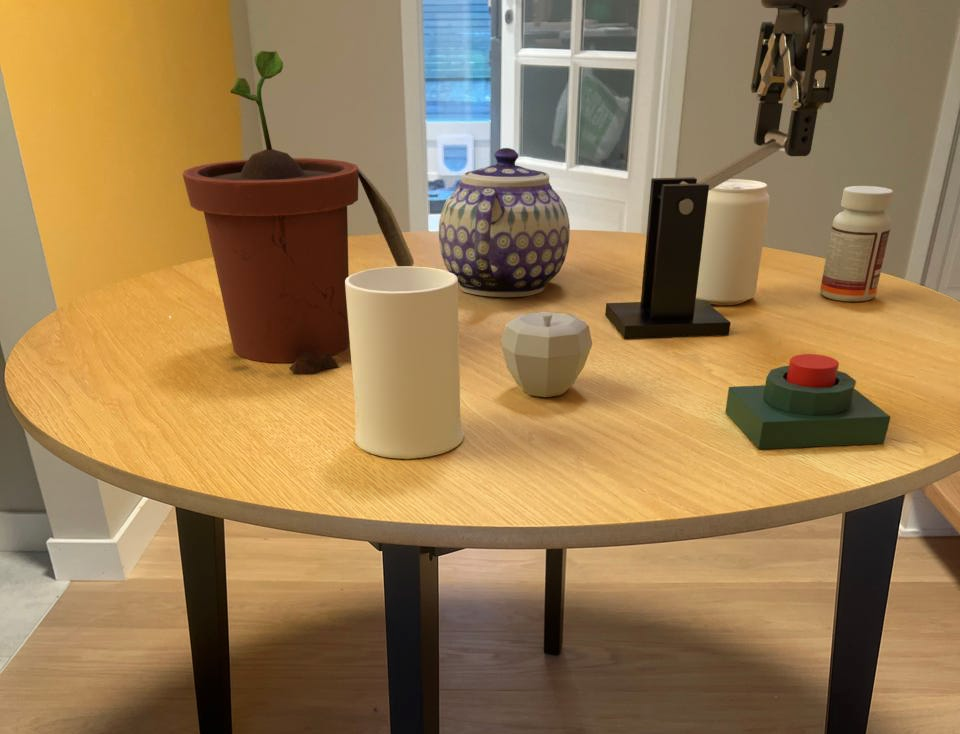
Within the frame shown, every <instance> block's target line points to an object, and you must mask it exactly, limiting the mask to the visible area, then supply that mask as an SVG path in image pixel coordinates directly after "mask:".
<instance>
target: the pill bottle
mask: <svg viewBox="0 0 960 734" xmlns="http://www.w3.org/2000/svg"><path fill="white" fill-rule="evenodd" d="M893 194H894V190H893V189H892V188H891V189H890V188H888V187H884V186H883V187H882V186H873V185H852V186H851V185H850V186H847V187H844V189H843V192H842V198H841V202H840V206H841V207H842V208H844V209H843V211H840V212H839V213H837V214H836V216H835V217H834V218H833V220H832V225H831V229H830V234H829V241H828V245H827V251H826V256H825V262H824V267H823V272H822V277H821V284H820V294H821V295H822V296H823V297H825V298H827V299H829V300H833V301H838V302H839V301H840V302H851V303H854V302H855V303H857V302H867V301H870V300H872V299H873V298H875V296H876V295H877V290H878V286H879V282H880V277H881V274H882V268H883V263H884V259H885V254H886V249H887V245H888V241H889V235H890V231H891V226H892V220H891V217H890V216H889V215H888V214H887V213H886V212H885V211H886V210H889V209H891V204H892V199H893V196H894V195H893Z"/></svg>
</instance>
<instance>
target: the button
mask: <svg viewBox="0 0 960 734" xmlns="http://www.w3.org/2000/svg"><path fill="white" fill-rule="evenodd" d="M788 366H789V369H788V374H787V380H786V381H787V382H790V383H793V384H796V385H799V386H807V387H815V388H819V387H831V386H834V385H835V380H836V376H837V371H839V366H840V363H839V361H838V360H837V359H835V358H833V357H831V356H828V355H824V354H816V353H802V354H795V355H794V356H791V358H790V359H789V363H788Z"/></svg>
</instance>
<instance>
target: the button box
mask: <svg viewBox="0 0 960 734" xmlns="http://www.w3.org/2000/svg"><path fill="white" fill-rule="evenodd" d="M788 369H789V365H783V366H779V367H777V368H773V369H770V371H769V372H768V374H767V376H766V378H765V384H764V385H763V384H762V385H741V386H738V385H737V386H729V387H728V389H727V390H728V391H727V399H726V403H725V405H726V406H725V412H724V413H725V414H726V415H727V416H728V417H729V418H730V419H731V421H732V422H733V423H734V424H735V425H736V426H737V427H738V428H739V429H740V430H741V431H742V433H743V434H744V435H745V436H746V438H748V439H749V441H750V442H752V444H753V445H754V446H755V447H756V448H757V449H758V450H771V449H773V450H774V449H793V448H814V447H815V448H816V447H836V446H837V447H838V446H858V445H859V446H860V445H877V444H878V445H879V444H885V442H886V437H887V434H888V429H889V425H890V421H891V415H890V414H888V413H887V412H886V411H884V410H883V409H882V408H880V407H879V406H878V405H877V404H875V403H874V402H873V401H871V400H870V399H869V398H868V397H866V396H865V395H864V394H863V393H861V392H859V390H857V389H856V388H855V387H856V383H857V380H856V379H854V378H853V377H852V376H851V375H849V374H848V373H846V372H844V371H841V370H838V371H837V376H836V380H835V385H834V386H831V387H819V388H815V387H807V386H799V385H796V384H793V383H790V382H787V381H786V380H787V374H788Z"/></svg>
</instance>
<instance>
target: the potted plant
mask: <svg viewBox="0 0 960 734" xmlns="http://www.w3.org/2000/svg"><path fill="white" fill-rule="evenodd" d="M254 64H255V66H256V71H257V73H258V75H259V76H260V78H259V80H258V82H257V84H256V94H252V92H251V87H250V85H249V84H250V83H249V82H248V80H247V79H246V78H243V77H237V78H236V81H235V83H234V85H233V87H232V88H231V90H230V94H234V95H237V96H239V97H242V98H245V99H247V100H249V101H253V102H255V103H256V104H257V106H258V112H259V117H260V123H261V128H262V133H263V139H264V143H265V148H266V149H264V150H261V151H258V152H255V153H253V154H251V156H249V158H248V159H237V160H227V161H219V162H212V163H205V164H199V165H196V166H192V167H190V168H187V169H185V170H183V172H182V177H183V182H184V186H185V190H186V193H187V197H188V201H189V205H190V207H191V208H193V209H194V210H196V211H198V212H203V215H204V220H205V224H206V230H207V234H208V238H209V243H210V248H211V251H212V257H213V262H214V267H215V271H216V275H217V280H218V285H219V289H220V293H221V298H222V302H223V307H224V312H225V317H226V321H227V326H228V330H229V335H230V340H231V344H232V345H231V346H232V349H233V352H234V353H235V354H237V356H239V357H242V358H243V359H247V360H250V361H255V362H256V361H257V362H263V363H279V364H280V363H283V364H284V363H292V364H291V365H290V366H289V369H290V371H291V372H292V373H293V374H316V373H318V372H320V371H322V370H325V369H332V368H337V367H339V364H338V362H337V360H336V359H335V358H334V357H333V356H335V355H337V354H339V353H341V352H343V351H345V350H346V349H347V348H348V347H350V338H349V325H348V313H347V301H346V288H345V280H346V278H347V277H349V276H350V275H349V274H350V273H349V229H348V228H349V227H348V226H349V224H348V206H352V205H354V204H355V203H356V202H358V201H359V182H360V184H361V186H362V188H363V190H364V192H365V195H366V197H367V199H368V201H369V204H370V206H371V208H372V211H373V212H374V215H375V217H376V221H377V224H378V226H379V229H380V231H381V233H382V235H383V238H384V240H385V242H386V244H387V246H388V249H389V251H390V253H391V255H392V257H393V260H394V262H395V264H396V267H397V266H414V264H415V261H414V258H413V256H412V253H411V251H410V249H409V246H408V244H407V241H406V239H405V237H404V235H403V232H402V230H401V228H400V225H399V223H398V221H397V219H396V216H395V214H394V212H393V209H392V207H391V206H390V205H389V203H388V201H386V200H385V198H384V197H383V195H382V194H381V193H380V191H379V190H378V188H377V187H376V186H375V185H374V184H373V182H372V181H371V180H370V179H369V178H368V176H366V174H365V173H364V172H363V171H362V170H361V169H360V168H359V166H358V164H355V163H353V162H349V161H345V160H344V161H343V160H338V159H337V160H336V159H327V158H311V157H292V156H291V155H290V154H289V153H287V152H285V151H284V152H283V151H281V150H277V149H274V148H273V147H272V141H271V137H270V132H269V128H268V124H267V120H266V119H267V118H266V115H265V110H264V106H263V100H262V99H263V98H262V88H263V85H264V83H265V80H267V79H268V80H269V79H271V78H274V77H275V76H277V75H278V74H281V72H282V71H283V69H284V62H283V60H282V59H281V58H280V55H279V54H278V51H277V50H274V51H267V50H266V51H265V50H260V51H258V52H256V53H255V55H254Z"/></svg>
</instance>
